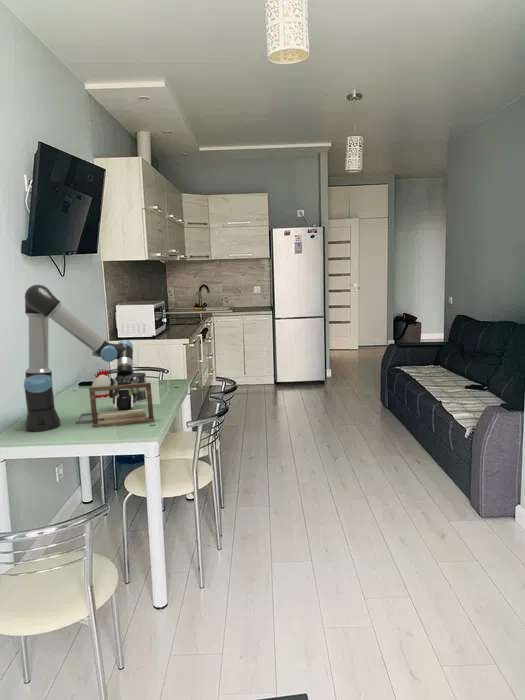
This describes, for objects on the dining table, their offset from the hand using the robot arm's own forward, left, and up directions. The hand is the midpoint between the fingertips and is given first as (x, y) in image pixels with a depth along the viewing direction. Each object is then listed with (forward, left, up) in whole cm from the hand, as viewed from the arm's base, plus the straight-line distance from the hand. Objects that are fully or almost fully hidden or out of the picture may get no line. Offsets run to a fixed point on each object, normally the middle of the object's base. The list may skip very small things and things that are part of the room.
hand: (124, 408), depth 254 cm
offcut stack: (-5, -3, -4) cm, 7 cm away
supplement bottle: (+3, +2, -4) cm, 6 cm away
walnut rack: (-5, -3, -5) cm, 8 cm away
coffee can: (+34, +20, -5) cm, 40 cm away
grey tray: (-4, +16, -5) cm, 18 cm away
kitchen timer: (+39, +49, -6) cm, 63 cm away
